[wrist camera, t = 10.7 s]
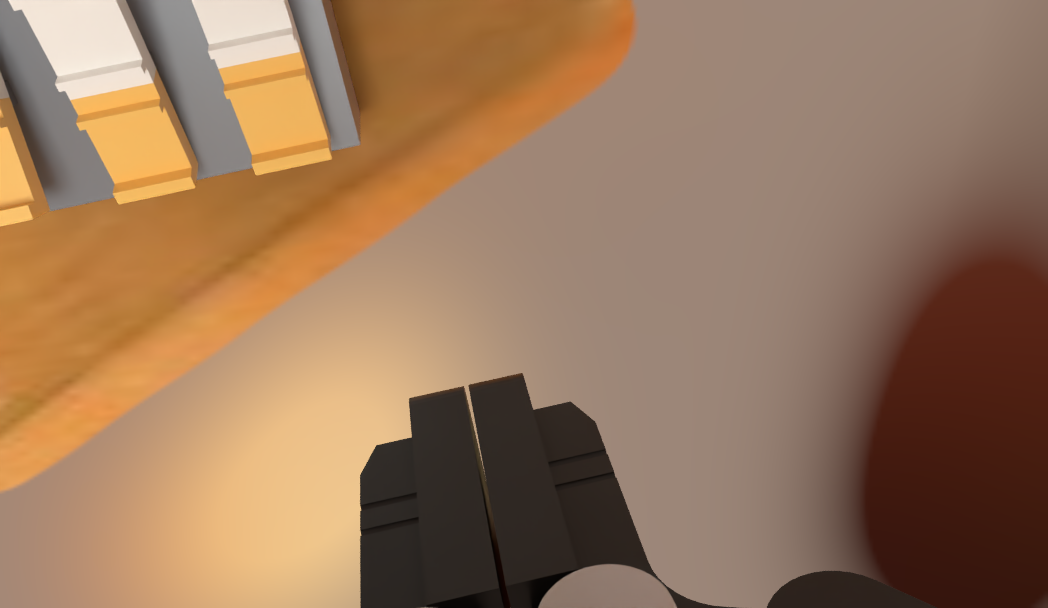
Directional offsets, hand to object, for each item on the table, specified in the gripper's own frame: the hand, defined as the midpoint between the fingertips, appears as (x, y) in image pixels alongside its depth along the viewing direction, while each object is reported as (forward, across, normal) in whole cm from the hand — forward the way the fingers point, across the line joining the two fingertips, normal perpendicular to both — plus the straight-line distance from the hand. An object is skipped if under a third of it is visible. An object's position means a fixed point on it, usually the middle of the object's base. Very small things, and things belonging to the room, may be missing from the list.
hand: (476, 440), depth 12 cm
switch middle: (+24, +10, -1) cm, 26 cm away
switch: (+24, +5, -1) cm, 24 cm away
